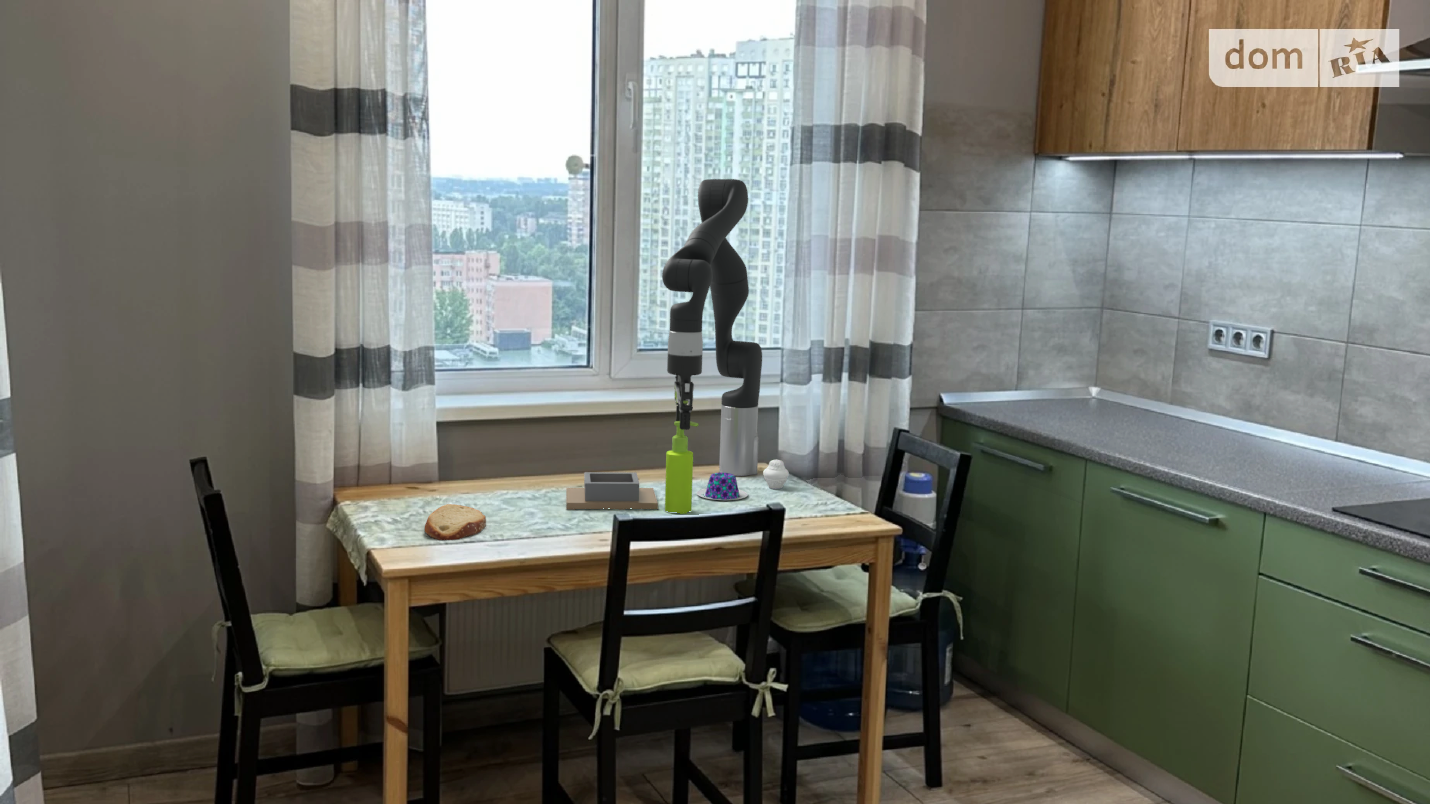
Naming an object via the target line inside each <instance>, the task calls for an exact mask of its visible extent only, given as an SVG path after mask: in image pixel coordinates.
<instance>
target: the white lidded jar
mask: <svg viewBox="0 0 1430 804" xmlns="http://www.w3.org/2000/svg"><path fill="white" fill-rule="evenodd" d="M762 474H763V477H764V480H765V482H766V484H767V486H768V488H769V489H773V490H780V489H782V488H783V487H784V485H785V484H786V482H787V480H788V477H789V475H790V473H789V470H788V469H786V467H785V464H784V461H783V460H781V459H777V458H776V459H773V460H770V461H769V462H768V466H767V467H766V468H765V469H764V470H763V472H762Z"/></svg>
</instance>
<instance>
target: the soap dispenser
mask: <svg viewBox="0 0 1430 804" xmlns="http://www.w3.org/2000/svg"><path fill="white" fill-rule="evenodd" d="M673 426H676V434H675V435H673V436H672V438H671V439H672V442H671V443H672V444H671V450H668V451H666V453H665V456H666V457H665V494H664V495H665V496H664V511H665V512H666V511H668V512H677V513H680V514H679V515H683V514H684V515H685V514H686V515H687V514H688V513H687V512H689V511H691V512H692V508H693V507H692V504H693V474H694V473H693V471H694V469H693V467H694V452H693V451H690V450H688V447H689V445H688V444H689V441H688V440H689V437H688V436H686V434H685V430H681V429H680V421H676V420H675V421H674V423H673ZM691 426H692V427H696V428H697V427H699V426H700V424H699V423H698V422H695V421H692V420H690V427H691ZM668 512H667V513H668Z"/></svg>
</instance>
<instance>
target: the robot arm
mask: <svg viewBox="0 0 1430 804" xmlns="http://www.w3.org/2000/svg"><path fill="white" fill-rule="evenodd" d="M697 204H698V210H699V216H700V220H701V223H700V224H698V225H697V226H696V227H695V228H694V229H693V230H692V231H691V233H690V234H689V235H688V238H687V240H686V242H685V244H684V246H683V247H681V248H680V249H679V250H677V251H676V252H675V253H673V255H671V256H670V257H669V258H668V260H667V261H666V263H665V264H664V266H663V269H662V273H661V278H662V283H663V285H664V286H665V288H666V289H668V290H669V291H672V292H676V293H677V292H679V293H680V292H681V293H692V294H691V295H692V296H691V297H690V299H689V300H687V301H684V302H677V303H673V305H671V306H670V310H669V331H668V332H669V333H668V339H667V361H666V362H667V367H666V368H667V369H666V371H667V373H668V374H670V375H674V377H675V381H674V384H673V386H674V393H673V394H674V403H675V406H676V407H675V408H676V411H675V421H680V429H681V430H684V431H687V430H690V429H691V426H690V421H691V413H692V411H693V410H694V408H693V403H694V389H695V384H694V383H693V381H692V376H700V375H701V374H702V373H703V347H704V346H703V345H704V344H703V343H704V341H703V340H704V339H703V314H704V310H705V309H704V308H705V304H706V299H707V296H708V294H709V292H710V297H711V301H712V303H711V304H712V308H713V309H712V310H713V319H714V320H713V321H714V334H715V335H714V336H715V337H714V338H715V341H714V342H715V360H716V368H717V371H718V373H719V374H720V375H721V377H726V378H732V379H733V378H734V379H735V378H736V379H743V381H742V385H741V386H739V388H735V389H733V390H728V391H725V392H724V393H722V394H721V405H720V406H721V410H720V414H721V415H720V438H719V439H720V441H719V443H720V444H719V462H718V463H719V467H718V468H719V469H718V471H719V472H718V473H730V474H733V475H734V476H735V477H736V476H738V477H741V476H742V477H743V476H744V477H745V476H752V475H758V466H759V465H758V464H759V463H758V461H759V458H758V457H759V436H758V422H759V421H758V420H759V418H758V417H759V398H760V391H761V377H762V367H763V349H762V347H761V344H759V343H757V342H754V341H753V342H752V341H742V340H734V338H733V325H734V323H735V320H736V319H737V317H738V315H739V313H740V312H741V310H742V309H743V307H744V305H745V304H746V302H747V299H748V298H749V291H750V289H749V278H748V277H749V276H748V270H747V266H746V264H745V262H744V260H743V259H742V258H741V256H740V255H739V253H738V252H737V251H736V249H735V248H734V246H732V244H731V243H730V242H729V241H728V239H727V238H726V237H727V236H728V235H729V234H730V233H731V232H732V231H733V230H734V229H735V227H736V225H738V224H739V222H740V221H741V219H742V218H743V217H744V216H745V213H746V211H747V209H748V204H749V192H748V188H747V185H746V183H745V182H744V181H743V180H741V179H736V178H727V179H726V178H723V179H721V178H714V179H713V178H712V179H711V178H708V179H707V178H706V179H703V180H702V181H701V182H700V184H699V186H698V189H697Z"/></svg>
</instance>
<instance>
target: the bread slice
mask: <svg viewBox="0 0 1430 804" xmlns="http://www.w3.org/2000/svg"><path fill="white" fill-rule="evenodd" d="M486 524H487V519H486V515H484V514H483V513H482V512H481V510H479V509H476V508H473V507H470V506H465V505H461V504H460V505H459V504H453V503H452V504H450V503H446V504H444V505H442V506H441V505H440V507H438V508H436V509H435V510H433V511H432V512H431V513H430V515H428V516H427V519H426V522H425V525H424V532H425V533H426V534H427V536H429V537H430V538H431V539H435V540H438V541H455V540H457V541H458V540H462V539H464V538H467V537H471V536H475V535H477V534H479V533H481V532H482V531H483V530H484V529H485V527H486V526H487V525H486Z"/></svg>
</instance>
